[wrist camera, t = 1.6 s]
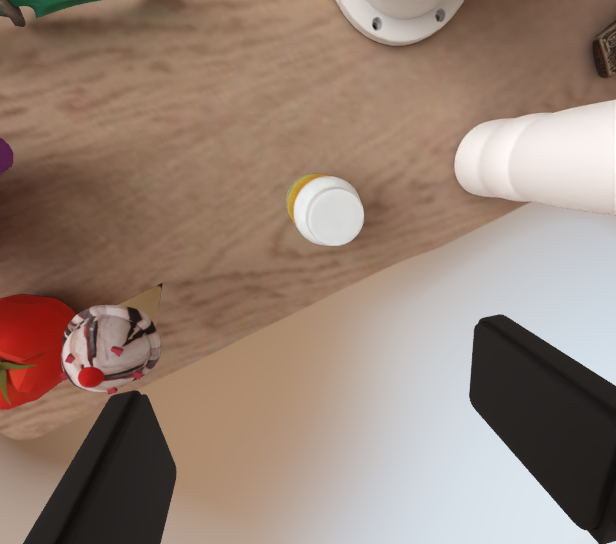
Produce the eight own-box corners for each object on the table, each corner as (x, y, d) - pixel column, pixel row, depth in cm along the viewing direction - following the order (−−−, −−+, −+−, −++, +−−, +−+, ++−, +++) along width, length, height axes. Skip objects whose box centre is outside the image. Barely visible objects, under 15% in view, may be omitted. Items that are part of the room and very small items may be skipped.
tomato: (52, 381, 32) (-3, 442, 25) (-34, 324, 29) (-124, 376, 22) (120, 326, 31) (83, 374, 25) (40, 261, 28) (-29, 295, 21)
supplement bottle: (347, 182, 30) (386, 191, 22) (329, 234, 32) (360, 263, 23) (294, 165, 29) (312, 167, 20) (278, 220, 31) (289, 245, 22)
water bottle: (519, 177, 33) (1134, 215, 10) (459, 206, 33) (940, 309, 10) (508, 109, 31) (1303, -53, 8) (443, 139, 31) (1042, 71, 7)
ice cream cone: (120, 294, 30) (7, 407, 16) (143, 244, 29) (42, 319, 15) (177, 317, 32) (119, 437, 18) (202, 271, 31) (159, 360, 17)
